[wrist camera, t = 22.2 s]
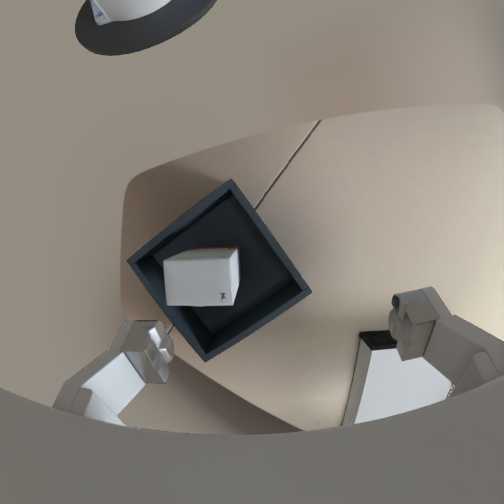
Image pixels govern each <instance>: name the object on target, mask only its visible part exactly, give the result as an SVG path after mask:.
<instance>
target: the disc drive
mask: <svg viewBox="0 0 504 504" xmlns="http://www.w3.org/2000/svg"><path fill="white" fill-rule="evenodd" d="M359 337H360V338H361V341H360V347H359V352H358V358H357V363H356V368H355V373H354V378H353V382H352V387H351V391H350V396H349V400H348V404H347V408H346V412H345V416H344V420H343V424H342V426H346V425H352V424H357V423H362V422H367V421H372V420H376V419H381V418H385V417H389V416H393V415H397V414H401V413H404V412H408V411H411V410H415V409H418V408H421V407H424V406H428V405H431V404H434V403H437V402H440V401H442V400H445V399H446V397H447V394H448V392H449V389H450V386H451V383H452V382H451V381H449V380H448V379H447V378H446V377H445V376H444V375H442V374H441V373H440V372H439V371H438V370H437V369H435V368H434V367H433V366H432V365H431V364H429V363H428V362H427V361H426V360H425V359H423V357H419V358H415V359H411V360H406V361H401V358H400V356H399V353H398V351H397V348H396V346H397V342H398V341H396V340H395V339H393V338H392V336H391V333H390V330H389V331H374V332H360V335H359Z"/></svg>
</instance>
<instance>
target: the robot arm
mask: <svg viewBox="0 0 504 504" xmlns="http://www.w3.org/2000/svg"><path fill="white" fill-rule="evenodd" d="M170 1H171V0H90V2H91V6H92V10H93V14H94V18H95V21H96V23H97V25H103V24H106V23H109V22H112V21H128V20H133V19H137V18H140V17H143V16H146V15H148V14H150V13H152V12H154V11H156V10H158V9H160V8H161V7H163V6H164V5H166V4H167V3H168V2H170ZM392 305H393V310H392V311H391V312H390V314H389V329H390V333H391V336H392V338H393V339H395V340H396V341H398V342H397V346H396V348H397V351H398V353H399V356H400V358H401V361H406V360H411V359H415V358H419V357H423V359H425V360H426V361H427V362H428V363H429V364H431V365H432V366H433V367H434V368H435V369H437V370H438V371H439V372H440V373H441V374H442V375H444V376H445V377H446V378H447V379H448V380H449V381H451V382H452V383H453V384H454V385H455V388H454V389H453V391H452V392H451V394H450V395H449V397H448V399H445V400H442V401H440V402H437V403H434V404H431V405H428V406H424V407H421V408H418V409H415V410H411V411H408V412H404V413H401V414H397V415H393V416H389V417H385V418H381V419H376V420H372V421H367V422H362V423H357V424H352V425H346V426H340V427H334V428H327V429H320V430H312V431H303V432H292V433H280V434H261V435H208V434H189V433H178V432H168V431H159V430H151V429H144V428H137V427H130V426H125V424H124V423H123V422H122V421H121V420H120V419H119V418H118V417H117V415H118V414H119V413H120V412H121V411H122V409H123V408H124V407H125V406H126V405H127V404H128V403H129V402H130V401H131V400H132V398H133V397H134V396H135V395H136V394H137V393H138V392H139V391H140V390H141V389H142V388H143V387H144V385H145V383H158V384H165V383H166V380H167V376H168V373H169V368H168V366H167V364H169V363H170V362H171V361H172V359H173V355H174V345H173V341H172V339H171V337H170V336H169V335H168V334H166V333H165V329H166V327H165V325H164V323H163V321H161V320H137V321H134V320H128V321H127V320H126V321H125V322H123V323H122V326H121V327H120V329H119V331H118V333H117V335H116V337H115V339H114V341H113V343H112V345H111V347H110V349H109V351H105V352H103V353H102V354H101V355H99V356H98V357H97V358H96V359H94V360H93V361H92V362H90V363H89V364H88V365H86V366H85V367H84V368H83V369H81V370H80V371H79V372H77V373H76V374H75V375H74V376H72V377H71V378H70V379H68V380H67V381H66V382H65V383H64V384H63V386H62V388H61V390H60V392H59V394H58V396H57V398H56V400H55V402H54V405H53V406H52V407H49V406H45V405H43V404H40V403H37V402H34V401H32V400H29V399H26V398H24V397H21V396H18V395H16V394H13V393H11V392H9V391H6V390H4V389H2V388H0V504H504V342H503V341H502V340H500V339H498V338H496V337H495V336H493V335H491V334H489V333H487V332H486V331H484V330H482V329H480V328H479V327H477V326H475V325H473V324H471V323H470V322H468V321H466V320H464V319H462V318H460V317H459V316H457V315H453V316H452V315H451V313H450V311H449V310H448V308H447V307H446V305H445V304H444V302H443V301H442V299H441V298H440V296H439V295H438V294H437V292H436V291H435V289H434V288H433V287H426V288H422V289H419V290H413V291H408V292H403V293H398V294H394V296H393V298H392Z"/></svg>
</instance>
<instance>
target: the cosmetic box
mask: <svg viewBox="0 0 504 504" xmlns="http://www.w3.org/2000/svg"><path fill="white" fill-rule="evenodd" d="M163 265H164V280H165V293H166V303H167V305H169V306H225V305H233V304H234V300H235V297H236V293H237V290H238V286H239V283H240V279H241V265H240V246H239V245H236V246H219V247H193V248H190V249H188V250H186V251H184V252H181V253H179V254H177V255H175V256H172V257H170V258H168V259H166V260H164V261H163Z"/></svg>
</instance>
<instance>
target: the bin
mask: <svg viewBox="0 0 504 504" xmlns="http://www.w3.org/2000/svg"><path fill="white" fill-rule="evenodd" d="M236 245H239V246H240V265H241V279H240V283H239V286H238V290H237V293H236V297H235V300H234V304H233V305H225V306H169V305H167V303H166V293H165V280H164V265H163V261H164V260H166V259H168V258H170V257H172V256H175V255H177V254H179V253H181V252H184V251H186V250H188V249H190V248H193V247H219V246H236ZM127 262H128V264H129V265H130V266H131V268H132V269H133V271H134V272H135V274H136V275H137V276H138V278H139V279H140V281H141V282H142V283H143V285H144V286H145V288H146V289H147V290H148V292H149V293H150V294H151V296H152V297H153V299H154V300H155V301H156V303H157V304H158V305H159V307H160V308H161V309H162V310H163V312H164V313H165V314H166V316H167V317H168V318H169V319H170V321H171V322H172V323H173V325H174V326H175V327H176V328H177V330H178V331H179V332H180V333H181V335H182V336H183V337H184V338H185V339H186V341H187V342H188V343H189V344H190V345H191V347H192V348H193V349H194V350H195V351H196V353H197V354H198V355H199V356H200V357H201V358H202V360H203V361H204V362H207V361H208V360H210V359H212V358H213V357H215V356H217V355H218V354H220V353H221V352H223V351H225V350H226V349H228V348H230V347H231V346H233V345H234V344H236V343H238V342H239V341H241V340H242V339H244V338H245V337H247V336H249V335H250V334H252V333H253V332H255V331H256V330H258V329H259V328H261V327H262V326H264V325H265V324H267V323H268V322H270V321H271V320H273V319H274V318H276V317H277V316H279V315H280V314H282V313H283V312H285V311H286V310H288V309H289V308H291V307H292V306H294V305H295V304H296V303H298V302H299V301H301V300H302V299H304V298H305V297H307V296H308V295H309V294H311V293H312V291H311V289H310V288H309V286H308V285H307V283H306V282H305V281H304V279H303V278H302V276H301V275H300V273H299V272H298V270H297V269H296V268H295V266H294V265H293V263H292V262H291V260H290V259H289V258H288V256H287V255H286V253H285V252H284V250H283V249H282V248H281V246H280V245H279V243H278V242H277V241H276V239H275V238H274V236H273V235H272V234H271V232H270V231H269V229H268V228H267V227H266V225H265V224H264V222H263V221H262V220H261V218H260V217H259V215H258V214H257V213H256V211H255V210H254V208H253V207H252V206H251V204H250V203H249V202H248V200H247V199H246V197H245V196H244V195H243V193H242V192H241V191H240V189H239V188H238V186H237V185H236V184H235V182H234V181H233V180H232V179H230V180H228V181H227V182H226V183H224V184H223V185H222V186H220V187H219V188H217V189H216V190H215V191H213V192H212V193H211V194H209V195H208V196H207V197H205V198H204V199H203V200H201V201H200V202H199V203H197V204H196V205H195V206H193V207H192V208H191V209H189V210H188V211H187V212H186V213H184V214H183V215H182V216H180V217H179V218H178V219H177V220H175V221H174V222H173V223H172V224H170V225H169V226H168V227H167V228H165V229H164V230H163V231H162V232H160V233H159V234H158V235H157V236H155V237H154V238H153V239H152V240H150V241H149V242H148V243H147V244H146V245H144V246H143V247H142V248H141V249H140V250H138V251H137V252H136V253H135V254H134V255H132V256H131V257H130V258H129V259H128V260H127Z"/></svg>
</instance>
